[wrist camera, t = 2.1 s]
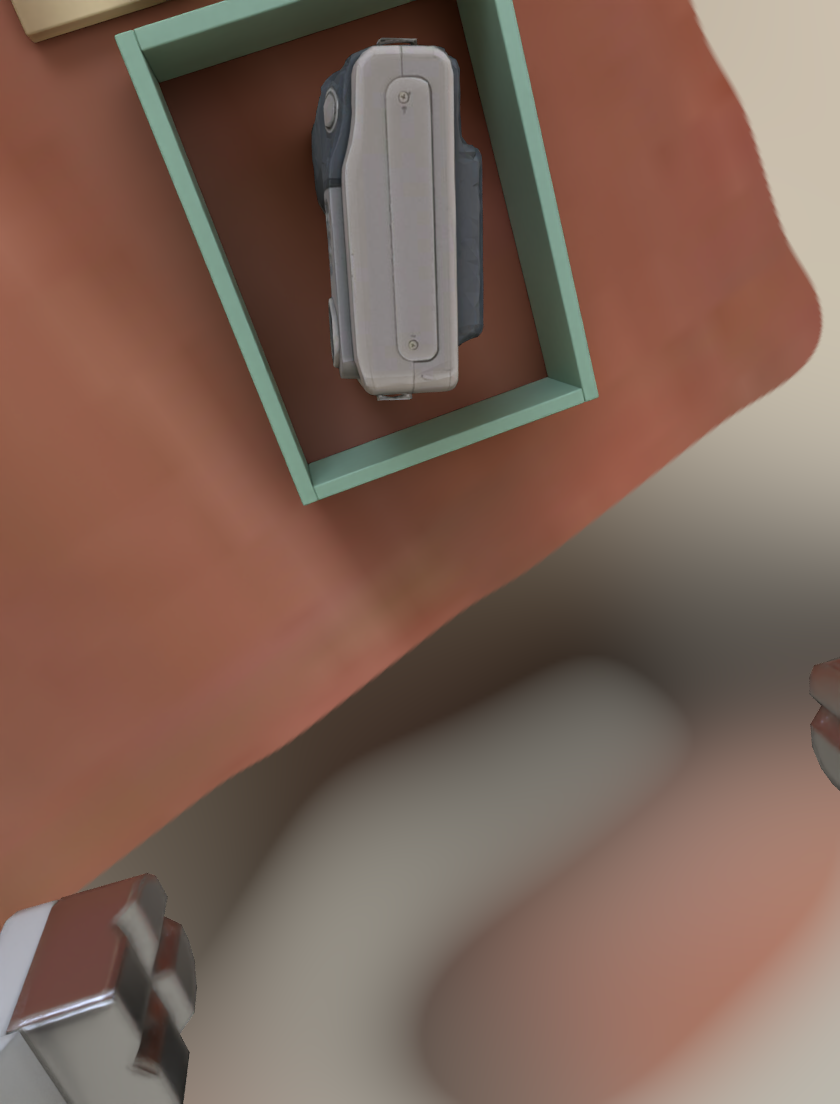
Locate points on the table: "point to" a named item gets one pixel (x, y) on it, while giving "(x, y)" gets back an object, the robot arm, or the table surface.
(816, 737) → the robot arm
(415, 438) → the bin
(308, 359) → the table surface
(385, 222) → the camera
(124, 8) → the board
